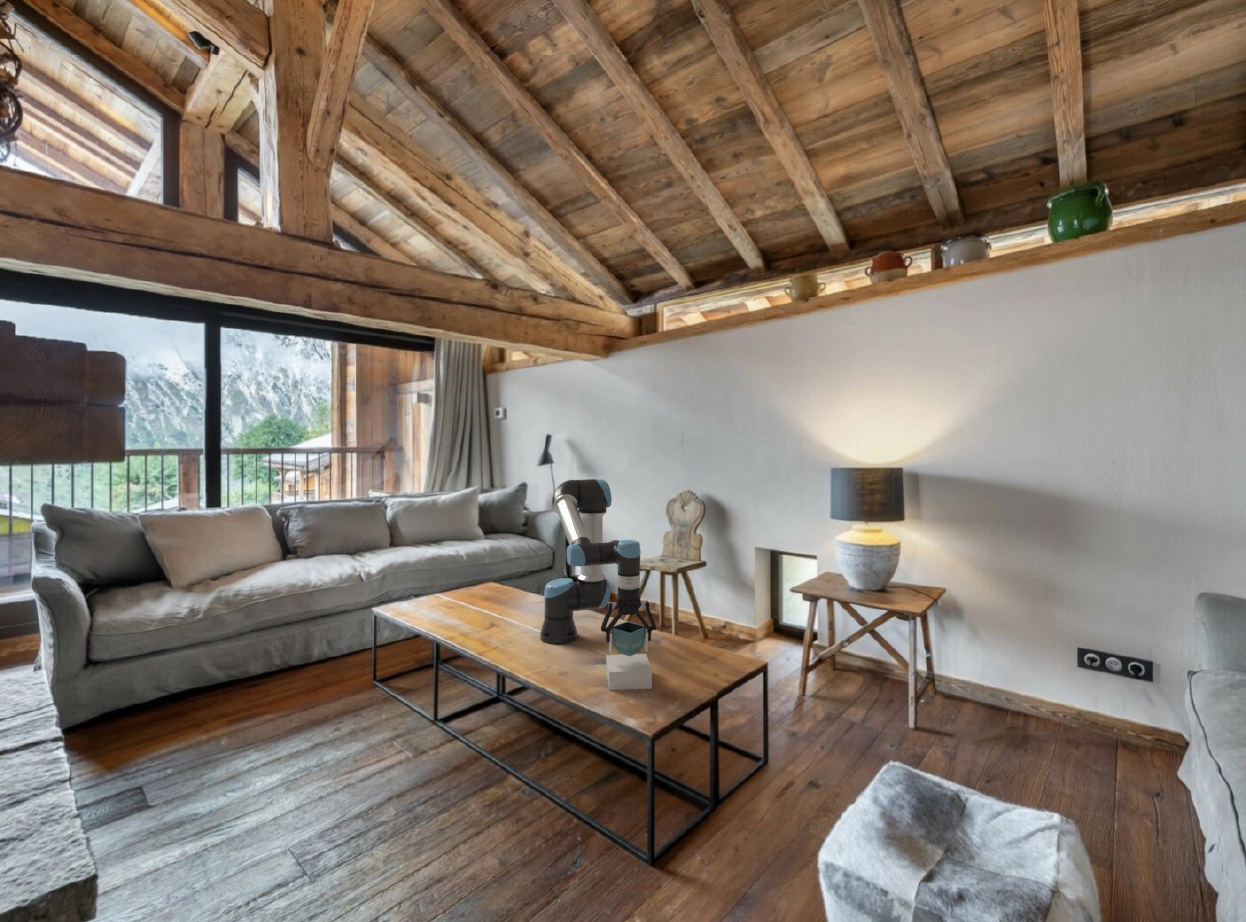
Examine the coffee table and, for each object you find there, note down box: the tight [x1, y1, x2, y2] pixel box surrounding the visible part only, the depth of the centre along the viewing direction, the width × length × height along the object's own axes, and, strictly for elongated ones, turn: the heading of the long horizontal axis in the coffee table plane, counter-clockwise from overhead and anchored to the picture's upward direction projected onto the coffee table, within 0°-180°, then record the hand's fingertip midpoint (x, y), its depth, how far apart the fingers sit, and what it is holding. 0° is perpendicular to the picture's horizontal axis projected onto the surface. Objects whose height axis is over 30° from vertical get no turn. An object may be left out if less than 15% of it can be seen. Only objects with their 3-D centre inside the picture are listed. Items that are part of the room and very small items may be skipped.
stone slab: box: [605, 653, 653, 691], centre depth 188 cm, size 14×14×6 cm
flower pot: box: [611, 621, 647, 656], centre depth 187 cm, size 9×9×9 cm
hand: (628, 650), depth 187 cm, fingers closed on flower pot, 11 cm apart
